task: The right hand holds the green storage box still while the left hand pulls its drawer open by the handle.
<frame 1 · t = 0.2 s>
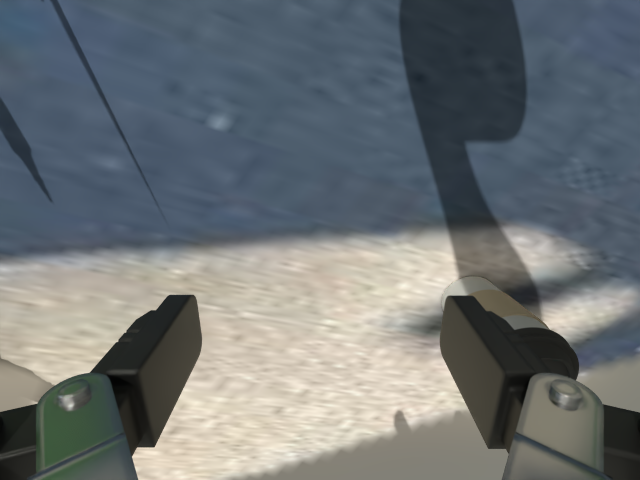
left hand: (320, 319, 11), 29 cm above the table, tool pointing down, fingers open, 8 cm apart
coffee cup: (468, 299, 44), on the table
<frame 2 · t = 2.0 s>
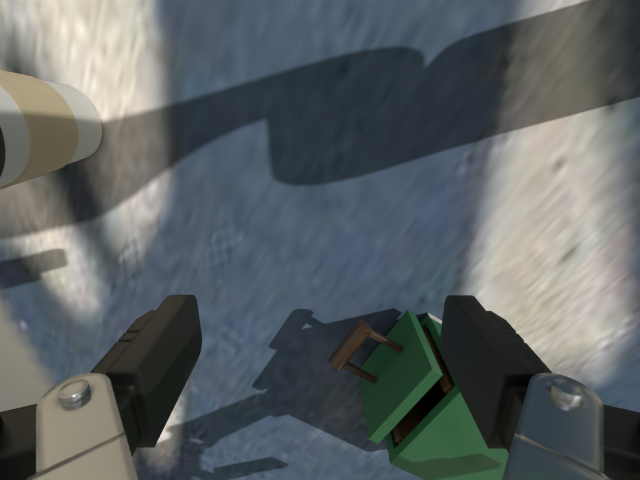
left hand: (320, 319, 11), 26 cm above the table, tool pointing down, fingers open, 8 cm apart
green storage box: (455, 376, 44), on the table
drawer: (428, 390, 38), point 6 cm above the table, slide at 1.6 cm
coffee cup: (67, 123, 34), on the table
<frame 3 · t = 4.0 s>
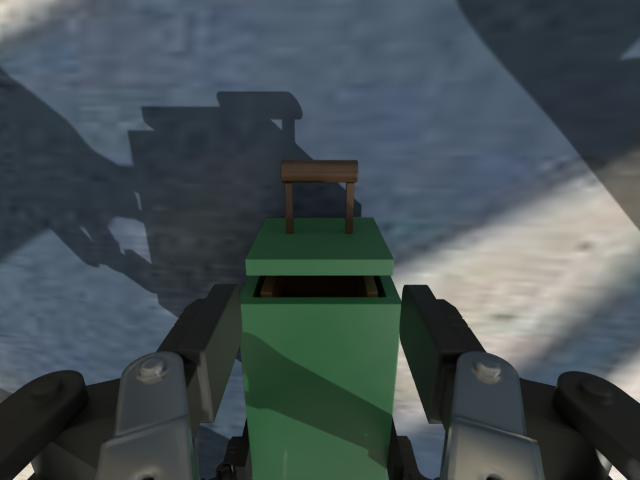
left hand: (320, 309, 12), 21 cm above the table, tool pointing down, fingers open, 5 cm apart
green storage box: (319, 319, 37), on the table, touching right hand
drawer: (319, 293, 29), point 6 cm above the table, slide at 1.6 cm
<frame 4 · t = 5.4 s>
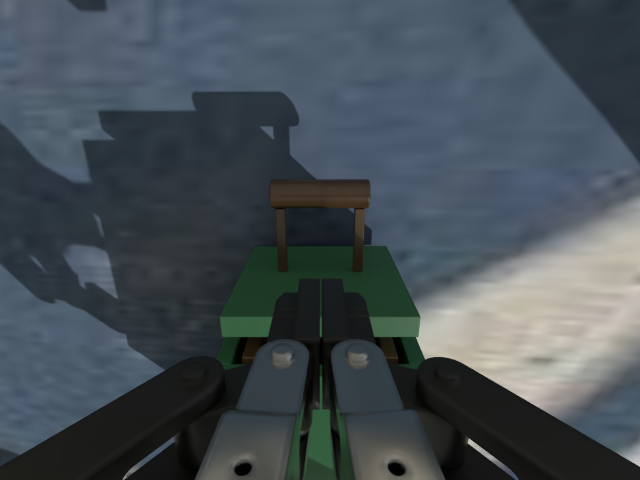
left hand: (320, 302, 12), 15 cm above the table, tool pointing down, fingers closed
green storage box: (320, 363, 31), on the table, touching right hand
drawer: (320, 344, 23), point 6 cm above the table, slide at 1.6 cm
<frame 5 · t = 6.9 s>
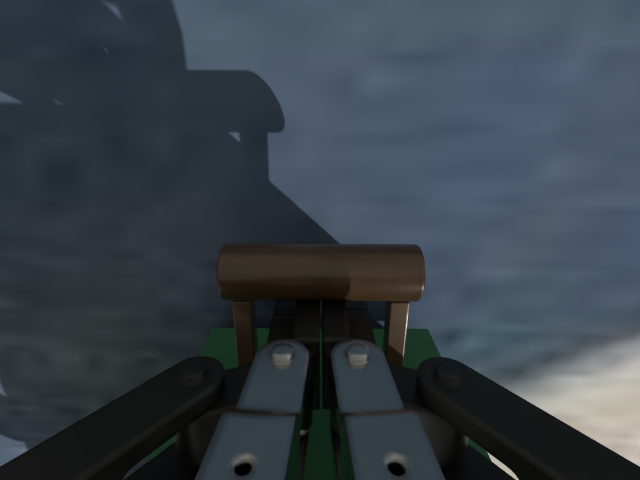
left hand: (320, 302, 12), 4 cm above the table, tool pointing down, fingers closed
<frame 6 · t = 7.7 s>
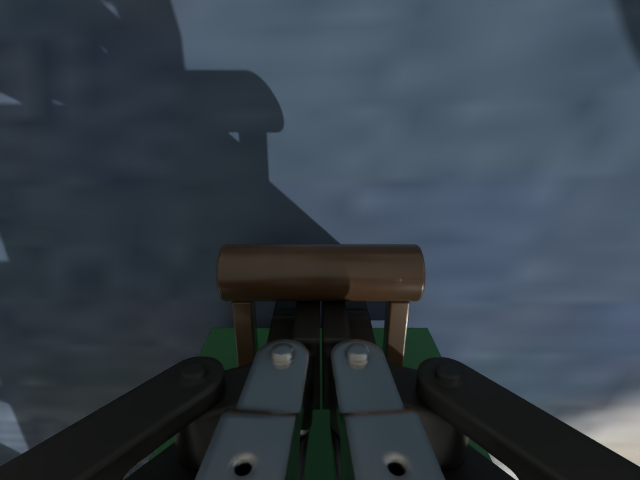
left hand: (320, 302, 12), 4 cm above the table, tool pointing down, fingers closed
when the right hand's fingers open (7 cm above the table, at t = 9.5 s): green storage box stays where it is, on the table.
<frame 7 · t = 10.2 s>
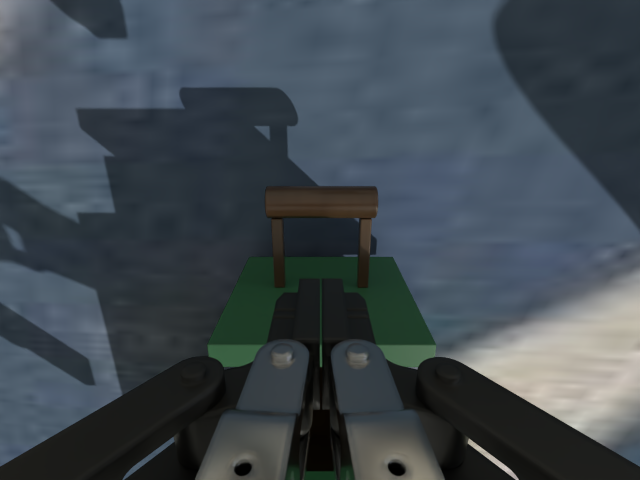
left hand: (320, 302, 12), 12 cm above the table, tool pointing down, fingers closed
drawer: (321, 366, 21), point 6 cm above the table, slide at 6.4 cm
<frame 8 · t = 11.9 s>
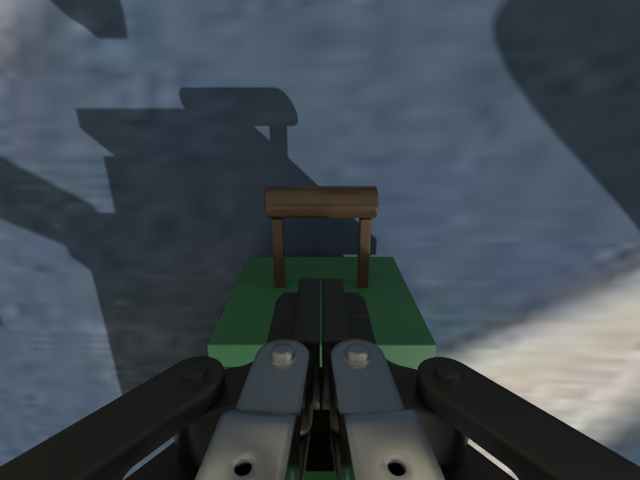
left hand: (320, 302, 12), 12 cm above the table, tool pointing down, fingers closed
drawer: (321, 366, 21), point 6 cm above the table, slide at 6.4 cm
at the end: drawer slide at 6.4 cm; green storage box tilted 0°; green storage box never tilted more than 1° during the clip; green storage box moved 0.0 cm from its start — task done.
